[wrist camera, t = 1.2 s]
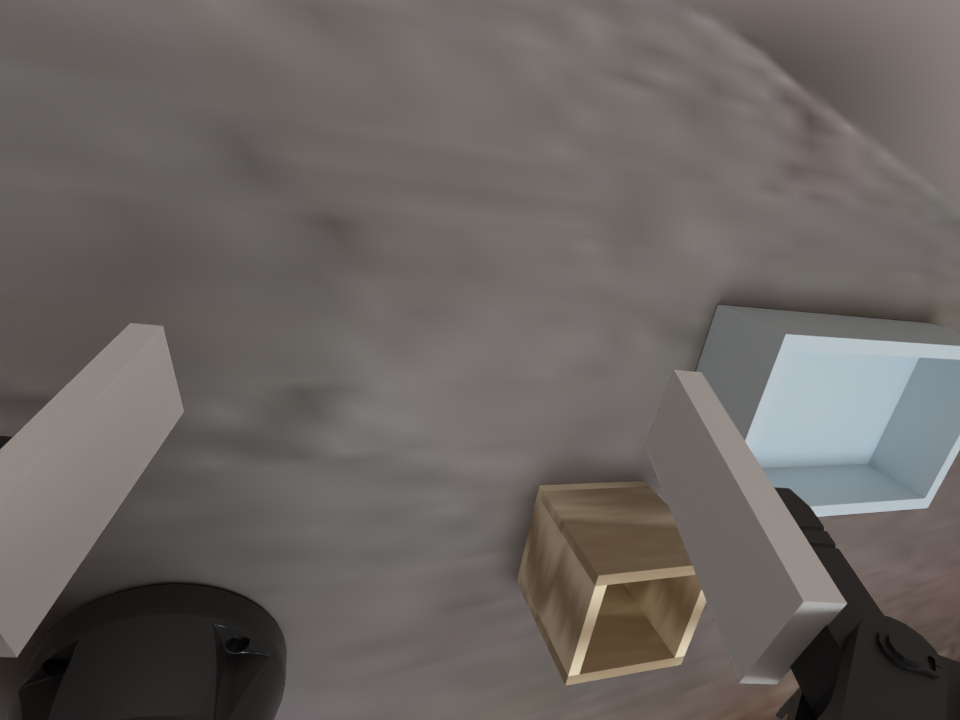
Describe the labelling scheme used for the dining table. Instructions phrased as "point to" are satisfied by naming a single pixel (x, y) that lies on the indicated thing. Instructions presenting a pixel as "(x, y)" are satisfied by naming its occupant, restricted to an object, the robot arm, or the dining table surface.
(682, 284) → the dining table surface
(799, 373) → the light blue crate
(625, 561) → the birch crate
